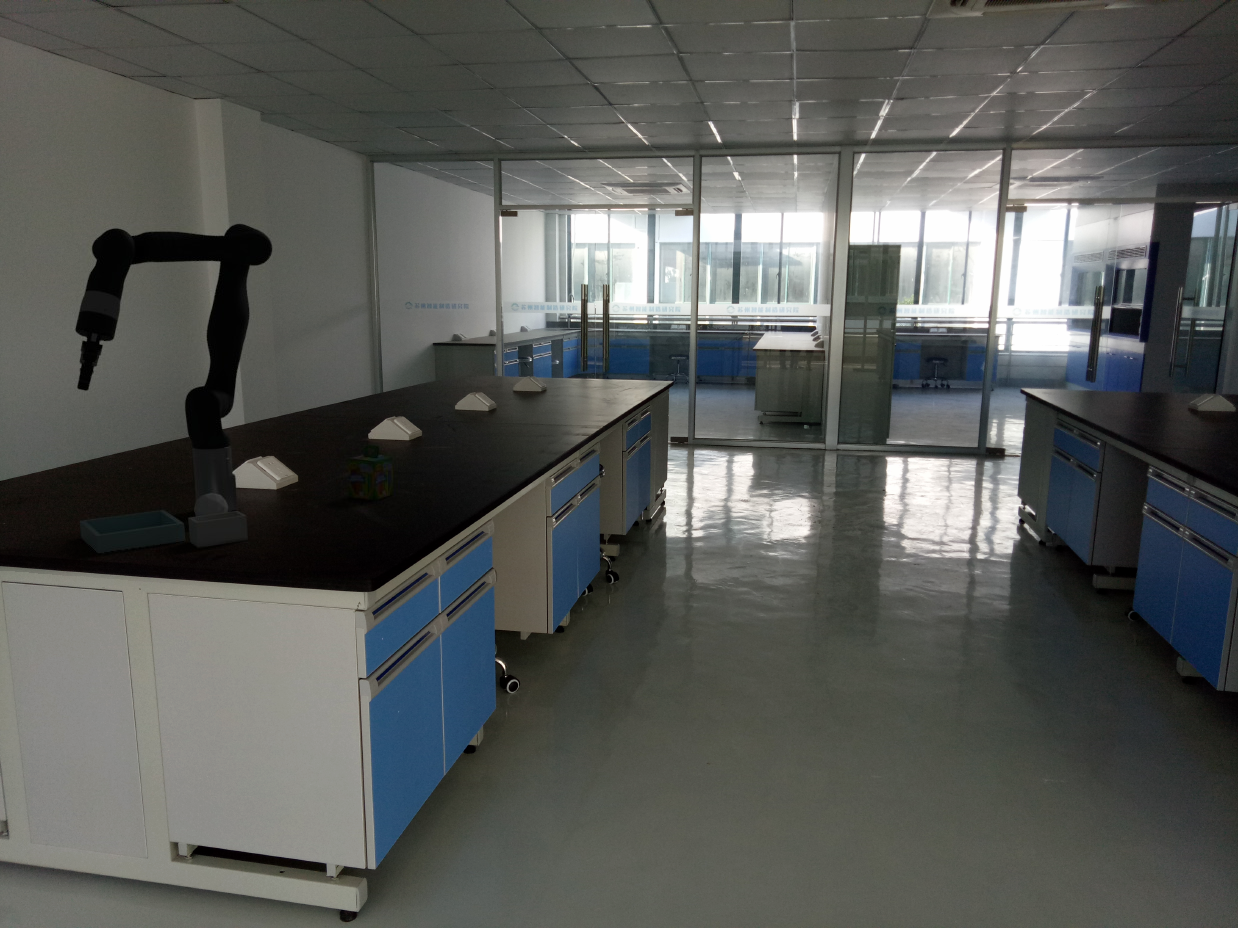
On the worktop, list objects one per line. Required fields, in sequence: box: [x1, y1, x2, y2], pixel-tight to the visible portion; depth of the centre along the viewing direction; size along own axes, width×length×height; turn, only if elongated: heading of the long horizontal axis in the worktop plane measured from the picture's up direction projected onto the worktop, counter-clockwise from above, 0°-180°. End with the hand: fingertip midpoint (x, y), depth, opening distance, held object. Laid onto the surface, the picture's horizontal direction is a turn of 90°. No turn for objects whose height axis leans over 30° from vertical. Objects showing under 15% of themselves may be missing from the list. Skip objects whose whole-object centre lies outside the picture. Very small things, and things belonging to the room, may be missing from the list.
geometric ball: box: [193, 493, 228, 517], centre depth 223 cm, size 8×8×8 cm
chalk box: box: [347, 444, 394, 502], centre depth 254 cm, size 9×9×15 cm
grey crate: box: [188, 510, 249, 548], centre depth 207 cm, size 11×6×6 cm, turn 131°
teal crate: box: [79, 509, 186, 554], centre depth 207 cm, size 18×17×4 cm
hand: (83, 385), depth 193 cm, fingers open, 8 cm apart
